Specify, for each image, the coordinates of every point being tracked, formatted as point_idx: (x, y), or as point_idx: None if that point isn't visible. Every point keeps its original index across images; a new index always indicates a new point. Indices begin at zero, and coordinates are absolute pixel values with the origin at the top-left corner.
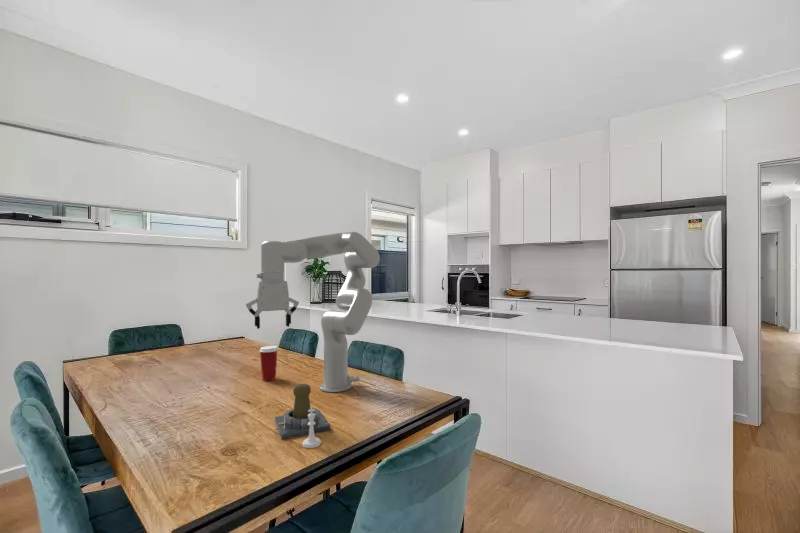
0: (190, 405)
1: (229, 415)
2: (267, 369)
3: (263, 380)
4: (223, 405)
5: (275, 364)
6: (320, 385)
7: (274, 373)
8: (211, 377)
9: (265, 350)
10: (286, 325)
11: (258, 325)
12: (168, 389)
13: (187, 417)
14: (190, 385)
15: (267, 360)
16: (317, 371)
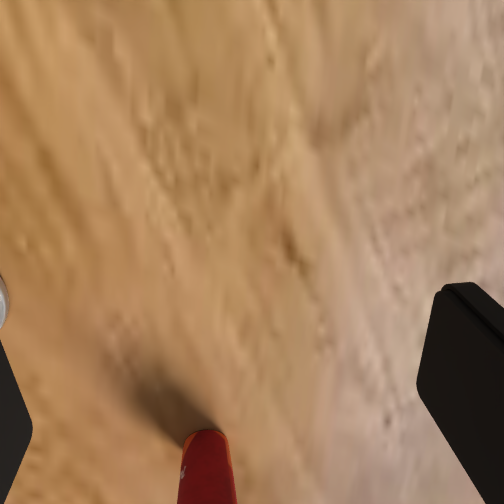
0: (460, 282)
1: (366, 131)
2: (212, 466)
3: (224, 436)
4: (371, 245)
5: (182, 488)
6: (3, 312)
7: (187, 455)
8: (368, 495)
9: None
10: (13, 385)
11: (487, 304)
12: None
13: (489, 172)
14: (430, 447)
15: (213, 499)
16: (29, 483)
